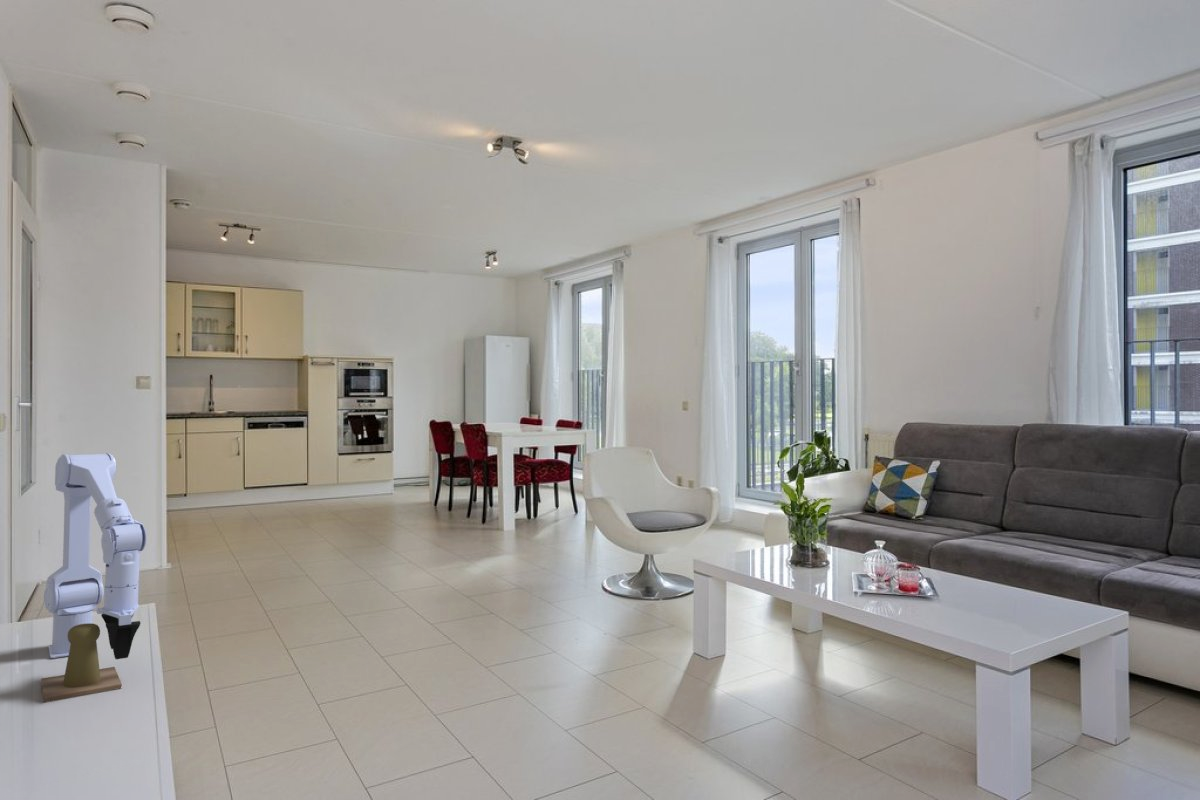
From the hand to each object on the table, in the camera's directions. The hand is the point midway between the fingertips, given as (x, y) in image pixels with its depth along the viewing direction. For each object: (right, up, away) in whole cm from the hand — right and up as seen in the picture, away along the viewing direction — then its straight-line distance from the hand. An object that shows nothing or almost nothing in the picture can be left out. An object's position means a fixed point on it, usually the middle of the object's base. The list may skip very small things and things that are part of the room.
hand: (119, 652), depth 146 cm
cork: (-5, -4, -4) cm, 8 cm away
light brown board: (-5, -5, -4) cm, 8 cm away
